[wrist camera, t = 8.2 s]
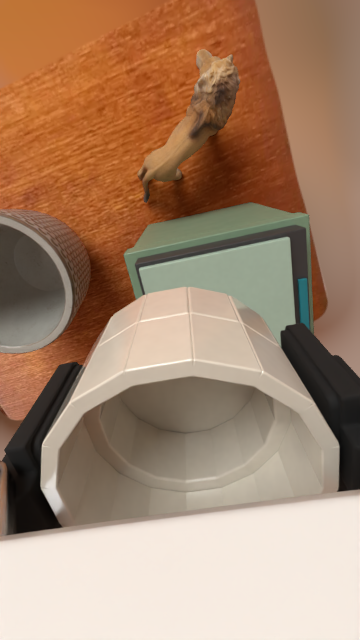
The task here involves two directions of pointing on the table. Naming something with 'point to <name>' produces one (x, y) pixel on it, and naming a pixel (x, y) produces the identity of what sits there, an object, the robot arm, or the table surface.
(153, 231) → the stand
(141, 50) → the table surface
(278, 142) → the table surface
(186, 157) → the lion figurine
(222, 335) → the bowl
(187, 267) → the scale
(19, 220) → the planter
